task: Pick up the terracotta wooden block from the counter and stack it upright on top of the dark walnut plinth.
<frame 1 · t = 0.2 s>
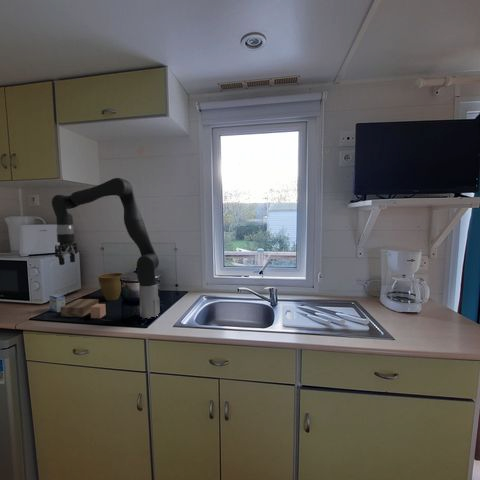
hand: (67, 263, 131), 28 cm above the hob, tool pointing down, fingers open, 8 cm apart
plant pot: (112, 299, 161), on the hob
terracotta block: (98, 316, 131), on the hob
walnut plinth: (80, 311, 138), on the hob
medicine box: (57, 310, 141), on the hob
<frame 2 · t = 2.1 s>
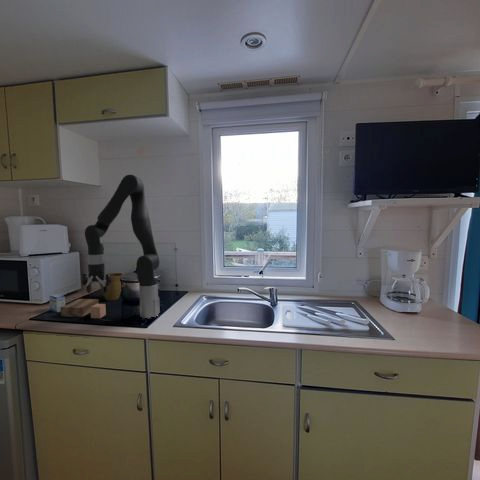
hand: (97, 292, 131), 13 cm above the hob, tool pointing down, fingers open, 8 cm apart
nothing on the hob moved.
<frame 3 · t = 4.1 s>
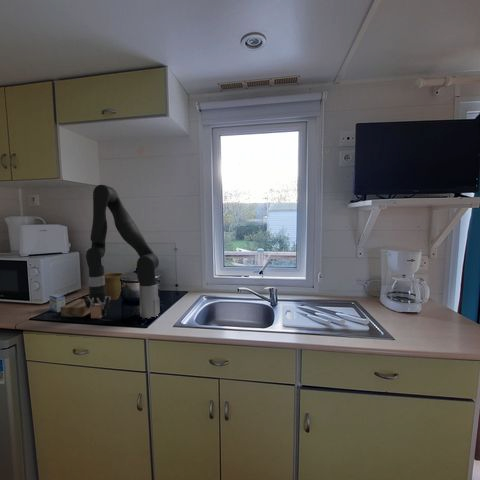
hand: (98, 315, 131), 1 cm above the hob, tool pointing down, fingers closed on terracotta block, 5 cm apart
terracotta block: (98, 316, 131), on the hob, touching gripper
everything else where it was.
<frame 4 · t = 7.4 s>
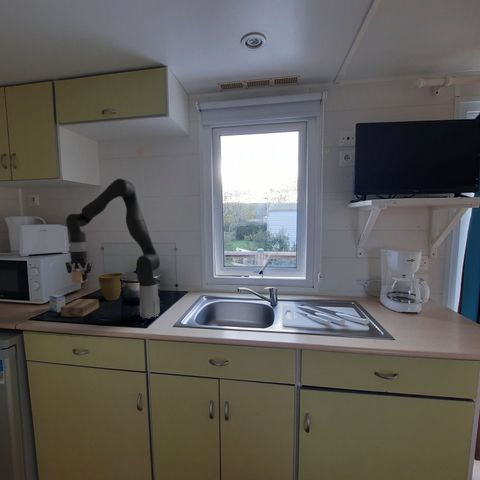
hand: (79, 280, 136), 18 cm above the hob, tool pointing down, fingers closed on terracotta block, 5 cm apart
terracotta block: (79, 281, 136), point 17 cm above the hob, touching gripper
everything else where it was.
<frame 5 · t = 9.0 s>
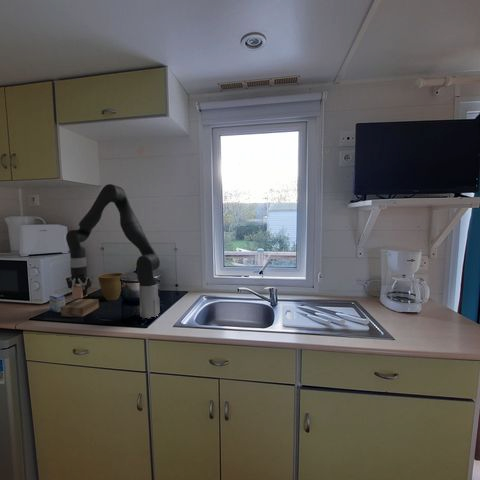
hand: (80, 295, 137), 9 cm above the hob, tool pointing down, fingers closed on terracotta block, 5 cm apart
terracotta block: (80, 296, 137), point 9 cm above the hob, touching gripper
everything else where it was.
when the fingers open (7 cm above the hob, at t = 10.3 s): terracotta block drops 1 cm, resting on walnut plinth.
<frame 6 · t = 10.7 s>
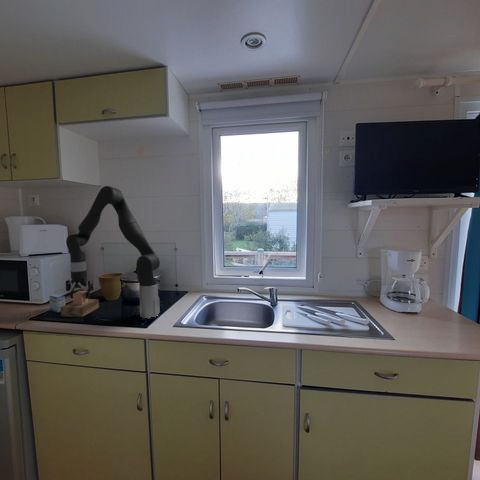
hand: (80, 298, 137), 8 cm above the hob, tool pointing down, fingers open, 8 cm apart
terracotta block: (80, 303, 138), point 5 cm above the hob, touching walnut plinth
everything else where it was.
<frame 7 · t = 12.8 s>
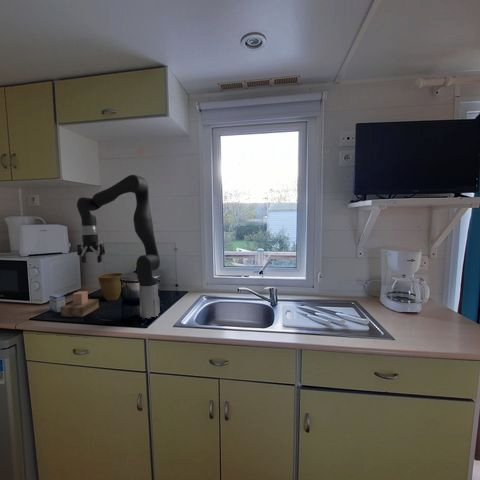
hand: (91, 262, 138), 28 cm above the hob, tool pointing down, fingers open, 8 cm apart
nothing on the hob moved.
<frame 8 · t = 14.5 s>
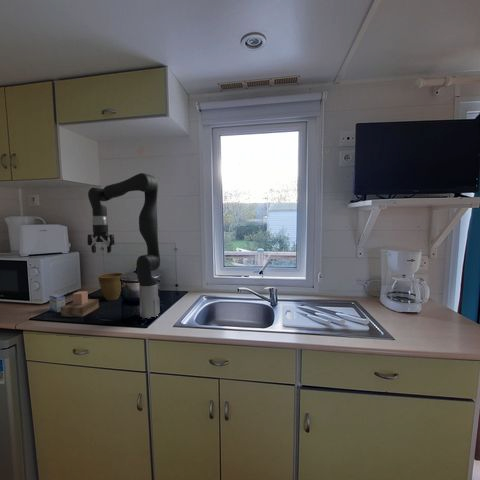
hand: (101, 252, 139), 33 cm above the hob, tool pointing down, fingers open, 8 cm apart
nothing on the hob moved.
at the end: terracotta block inside the target area on the walnut plinth (0.2 cm from its centre), point 5.0 cm above the walnut plinth's base; terracotta block tilted 0°; the gripper is holding nothing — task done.
